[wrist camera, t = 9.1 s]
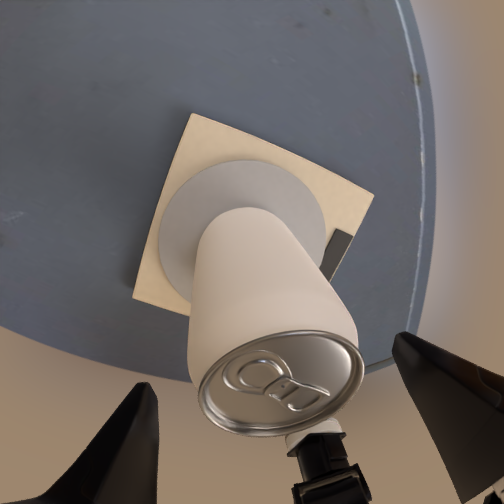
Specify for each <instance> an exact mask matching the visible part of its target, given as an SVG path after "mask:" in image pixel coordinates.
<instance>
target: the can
mask: <svg viewBox="0 0 504 504" xmlns="http://www.w3.org/2000/svg"><path fill="white" fill-rule="evenodd" d="M187 362H188V370H189V375H190V378H191V380H192V382H193V384H194V386H195V388H196V389H197V391H198V402H199V405H200V408H201V410H202V412H203V414H204V415H205V416H206V417H207V418H208V420H210V421H211V422H212V423H213V424H214V425H216V426H218V427H219V428H221V429H223V430H225V431H228V432H231V433H234V434H238V435H242V436H248V437H276V436H283V435H288V434H293V433H297V432H300V431H303V430H306V429H308V428H311V427H313V426H315V425H318V424H320V423H322V422H323V421H325V420H327V419H329V418H330V417H331V416H333V415H335V414H336V413H337V412H338V411H340V410H341V409H342V408H343V407H344V406H345V405H346V404H347V403H348V402H349V401H350V400H351V399H352V398H353V396H354V395H355V394H356V392H357V391H358V389H359V387H360V385H361V383H362V380H363V376H364V360H363V357H362V355H361V353H360V351H359V350H358V336H357V330H356V326H355V324H354V321H353V319H352V317H351V315H350V313H349V312H348V310H347V309H346V307H345V306H344V304H343V302H342V301H341V300H340V298H339V297H338V295H337V294H336V292H335V291H334V289H333V288H332V287H331V285H330V284H329V282H328V281H327V280H326V278H325V277H324V275H323V274H322V273H321V271H320V270H319V268H318V267H317V266H316V264H315V263H314V262H313V260H312V259H311V258H310V256H309V255H308V253H307V252H306V251H305V249H304V248H303V247H302V245H301V244H300V243H299V242H298V240H297V239H296V238H295V236H294V235H293V234H292V232H291V231H290V230H289V229H288V227H287V226H286V225H285V224H284V223H283V222H282V221H281V220H280V219H279V218H278V217H277V216H275V215H274V214H272V213H270V212H268V211H266V210H263V209H259V208H253V207H243V208H236V209H233V210H230V211H227V212H224V213H222V214H221V215H219V216H217V217H216V218H215V219H214V220H213V221H212V222H211V223H210V224H209V225H208V227H207V228H206V229H205V231H204V233H203V235H202V237H201V239H200V242H199V245H198V250H197V256H196V264H195V272H194V280H193V289H192V299H191V309H190V320H189V332H188V350H187Z"/></svg>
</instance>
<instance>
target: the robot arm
mask: <svg viewBox="0 0 504 504" xmlns="http://www.w3.org/2000/svg"><path fill="white" fill-rule="evenodd" d="M392 355H393V357H394V360H395V362H396V364H397V367H398V369H399V372H400V374H401V377H402V379H403V382H404V384H405V386H406V388H407V390H408V392H409V394H410V396H411V397H412V399H413V401H414V403H415V405H416V407H417V409H418V411H419V413H420V414H421V417H422V419H423V421H424V423H425V424H426V426H427V428H428V430H429V433H430V435H431V437H432V439H433V440H434V443H435V445H436V447H437V449H438V451H439V453H440V455H441V458H442V460H443V462H444V464H445V466H446V469H447V471H448V473H449V476H450V478H451V480H452V482H453V485H454V487H455V489H456V492H457V494H458V497H459V499H460V501H461V503H462V504H464V503H466V502H467V501H469V500H470V499H472V498H474V497H475V496H477V495H478V494H480V493H481V492H483V491H484V490H485V489H487V488H489V487H490V486H491V485H492V487H493V489H494V490H493V491H492V492H491V493H490V494H489V495H487V496H486V497H485V499H484V503H483V504H504V377H503V376H501V375H498V374H495V373H493V372H491V371H489V370H486V369H484V368H482V367H480V366H477V365H476V364H474V363H471V362H469V361H467V360H465V359H463V358H461V357H459V356H457V355H454V354H452V353H450V352H448V351H446V350H444V349H442V348H440V347H438V346H436V345H434V344H431V343H430V342H427V341H425V340H423V339H421V338H419V337H417V336H415V335H413V334H411V333H409V332H406V331H405V332H401V333H398V334H397V335H396V336H395V339H394V344H393V348H392ZM345 436H346V433H345V432H341V433H309V434H307V435H306V436H305V437H304V438H303V439H302V440H301V441H300V442H299V443H298V444H297V445H296V446H295V447H294V448H292V449H291V450H290V451H289V452H288V453H287V456H288V457H297V459H298V463H299V467H300V471H301V474H302V478H303V482H302V483H296V484H294V487H293V488H292V489H291V490H292V494H293V498H294V504H369V503H368V502H369V501H372V497H371V493H370V490H369V487H368V485H367V483H366V481H365V478H364V476H363V474H362V472H361V470H360V468H359V466H358V463H356V464H354V465H353V466H349V463H348V460H347V457H348V456H347V454H346V451H345V448H344V446H343V443H342V441H341V440H342V439H343V438H344V437H345ZM158 450H159V422H158V400H157V396H156V395H155V393H154V391H153V389H152V387H151V385H150V384H149V383H148V382H141V383H137V384H136V385H135V386H134V388H133V389H132V390H131V391H130V392H129V394H128V395H127V396H126V397H125V399H124V400H123V401H122V403H121V404H120V405H119V406H118V408H117V409H116V410H115V411H114V413H113V414H112V415H111V416H110V418H109V419H108V420H107V422H106V423H105V424H104V425H103V427H102V428H101V429H100V430H99V432H98V433H97V434H96V436H95V437H94V438H93V439H92V441H91V442H90V443H89V445H88V446H87V447H86V449H85V450H84V451H83V452H82V453H81V455H80V456H79V457H78V458H77V460H76V461H75V462H74V463H73V464H72V465H71V467H70V468H69V469H68V470H67V471H66V472H65V473H64V474H63V475H62V476H61V477H60V478H59V479H58V480H57V481H56V482H55V483H54V484H53V485H52V486H51V487H50V488H49V489H48V490H47V491H46V492H45V493H43V494H42V495H40V496H38V497H35V498H31V499H26V500H21V501H15V502H10V503H3V504H157V473H158Z"/></svg>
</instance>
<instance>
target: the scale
mask: <svg viewBox="0 0 504 504" xmlns="http://www.w3.org/2000/svg"><path fill="white" fill-rule="evenodd" d="M373 197H374V195H373V194H372V193H370V192H368V191H366V190H365V189H363V188H361V187H359V186H357V185H355V184H354V183H352V182H350V181H348V180H346V179H344V178H342V177H340V176H339V175H337V174H335V173H333V172H331V171H329V170H327V169H325V168H323V167H321V166H319V165H317V164H315V163H313V162H311V161H309V160H306V159H304V158H302V157H300V156H298V155H296V154H294V153H292V152H289V151H287V150H285V149H283V148H280V147H278V146H276V145H274V144H271V143H269V142H267V141H264V140H262V139H260V138H257V137H255V136H252V135H250V134H248V133H245V132H243V131H240V130H238V129H235V128H232V127H230V126H227V125H225V124H222V123H219V122H217V121H214V120H211V119H208V118H206V117H203V116H200V115H197V114H194V113H192V114H191V116H190V118H189V120H188V123H187V125H186V128H185V130H184V133H183V135H182V138H181V140H180V143H179V145H178V148H177V151H176V153H175V156H174V159H173V161H172V164H171V167H170V169H169V172H168V175H167V178H166V181H165V184H164V187H163V190H162V193H161V196H160V199H159V202H158V205H157V208H156V211H155V214H154V218H153V221H152V224H151V228H150V231H149V234H148V238H147V241H146V245H145V249H144V252H143V256H142V260H141V264H140V267H139V271H138V275H137V280H136V284H135V288H134V292H133V298H134V299H137V300H140V301H143V302H146V303H149V304H152V305H155V306H158V307H161V308H164V309H168V310H171V311H174V312H177V313H181V314H184V315H187V316H190V309H191V299H192V289H193V280H194V272H195V264H196V256H197V250H198V245H199V242H200V239H201V237H202V235H203V233H204V231H205V229H206V228H207V227H208V225H209V224H210V223H211V222H212V221H213V220H214V219H215V218H216V217H217V216H219V215H221V214H222V213H224V212H227V211H230V210H233V209H236V208H243V207H253V208H259V209H263V210H266V211H268V212H270V213H272V214H274V215H275V216H277V217H278V218H279V219H280V220H281V221H282V222H283V223H284V224H285V225H286V226H287V227H288V229H289V230H290V231H291V232H292V234H293V235H294V236H295V238H296V239H297V240H298V242H299V243H300V244H301V245H302V247H303V248H304V249H305V251H306V252H307V253H308V255H309V256H310V258H311V259H312V260H313V262H314V263H315V264H316V266H317V267H318V268H319V270H320V271H321V273H322V274H323V275H324V277H325V278H326V280H327V281H328V282H330V281H331V279H332V277H333V275H334V273H335V272H336V270H337V268H338V266H339V264H340V262H341V261H342V259H343V257H344V255H345V253H346V251H347V249H348V247H349V245H350V244H351V242H352V240H353V238H354V236H355V234H356V232H357V230H358V228H359V226H360V224H361V222H362V220H363V218H364V216H365V214H366V212H367V210H368V208H369V205H370V203H371V201H372V199H373Z"/></svg>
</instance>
